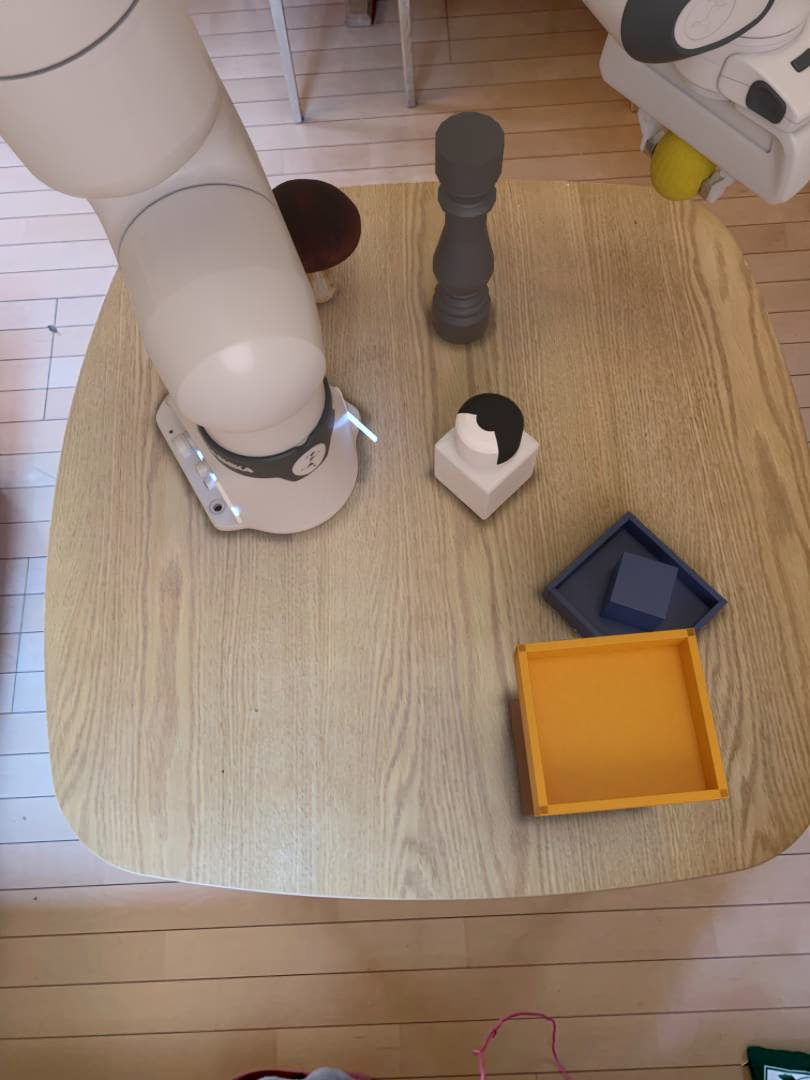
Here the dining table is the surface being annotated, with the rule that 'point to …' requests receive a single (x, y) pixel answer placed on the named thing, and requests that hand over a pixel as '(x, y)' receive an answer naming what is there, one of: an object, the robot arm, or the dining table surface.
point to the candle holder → (465, 224)
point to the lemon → (678, 168)
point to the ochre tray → (614, 724)
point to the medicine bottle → (486, 453)
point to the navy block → (639, 592)
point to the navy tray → (590, 574)
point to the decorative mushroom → (319, 229)
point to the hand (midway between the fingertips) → (680, 173)
